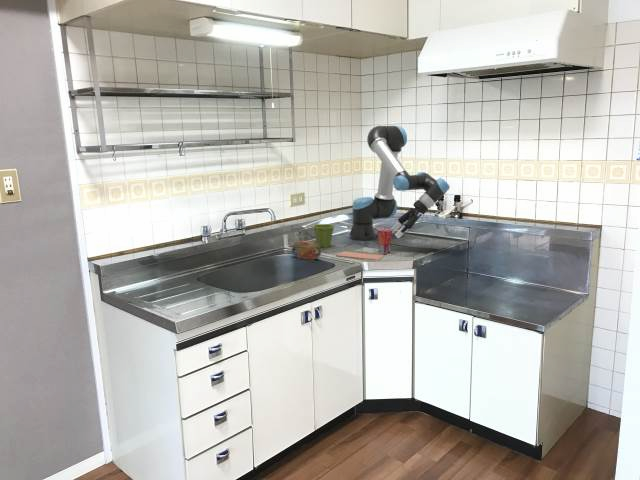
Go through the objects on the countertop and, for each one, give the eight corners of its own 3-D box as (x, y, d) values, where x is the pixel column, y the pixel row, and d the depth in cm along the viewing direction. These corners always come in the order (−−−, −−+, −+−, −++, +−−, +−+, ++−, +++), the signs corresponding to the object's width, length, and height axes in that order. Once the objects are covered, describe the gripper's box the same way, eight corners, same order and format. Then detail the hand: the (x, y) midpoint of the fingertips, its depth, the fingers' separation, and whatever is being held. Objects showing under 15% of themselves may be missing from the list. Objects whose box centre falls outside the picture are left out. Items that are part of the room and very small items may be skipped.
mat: (344, 252, 270) (344, 251, 270) (384, 256, 260) (384, 255, 260) (335, 256, 261) (335, 255, 261) (377, 260, 252) (377, 259, 252)
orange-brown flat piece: (292, 257, 259) (291, 240, 258) (295, 256, 262) (295, 239, 261) (319, 260, 253) (319, 243, 251) (322, 259, 255) (322, 242, 254)
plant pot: (326, 249, 277) (326, 228, 275) (308, 246, 284) (308, 226, 282) (339, 245, 286) (339, 225, 284) (321, 243, 293) (321, 223, 291)
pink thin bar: (347, 250, 273) (347, 250, 273) (387, 255, 264) (387, 254, 264) (345, 251, 271) (345, 251, 271) (385, 256, 262) (385, 255, 262)
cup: (392, 250, 274) (392, 227, 271) (392, 254, 266) (393, 230, 263) (374, 250, 275) (374, 227, 272) (374, 253, 266) (374, 230, 264)
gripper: (435, 212, 254) (404, 244, 256) (422, 206, 278) (393, 234, 280) (425, 202, 253) (393, 233, 254) (412, 196, 277) (383, 225, 279)
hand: (393, 234), depth 267 cm, fingers open, 13 cm apart
